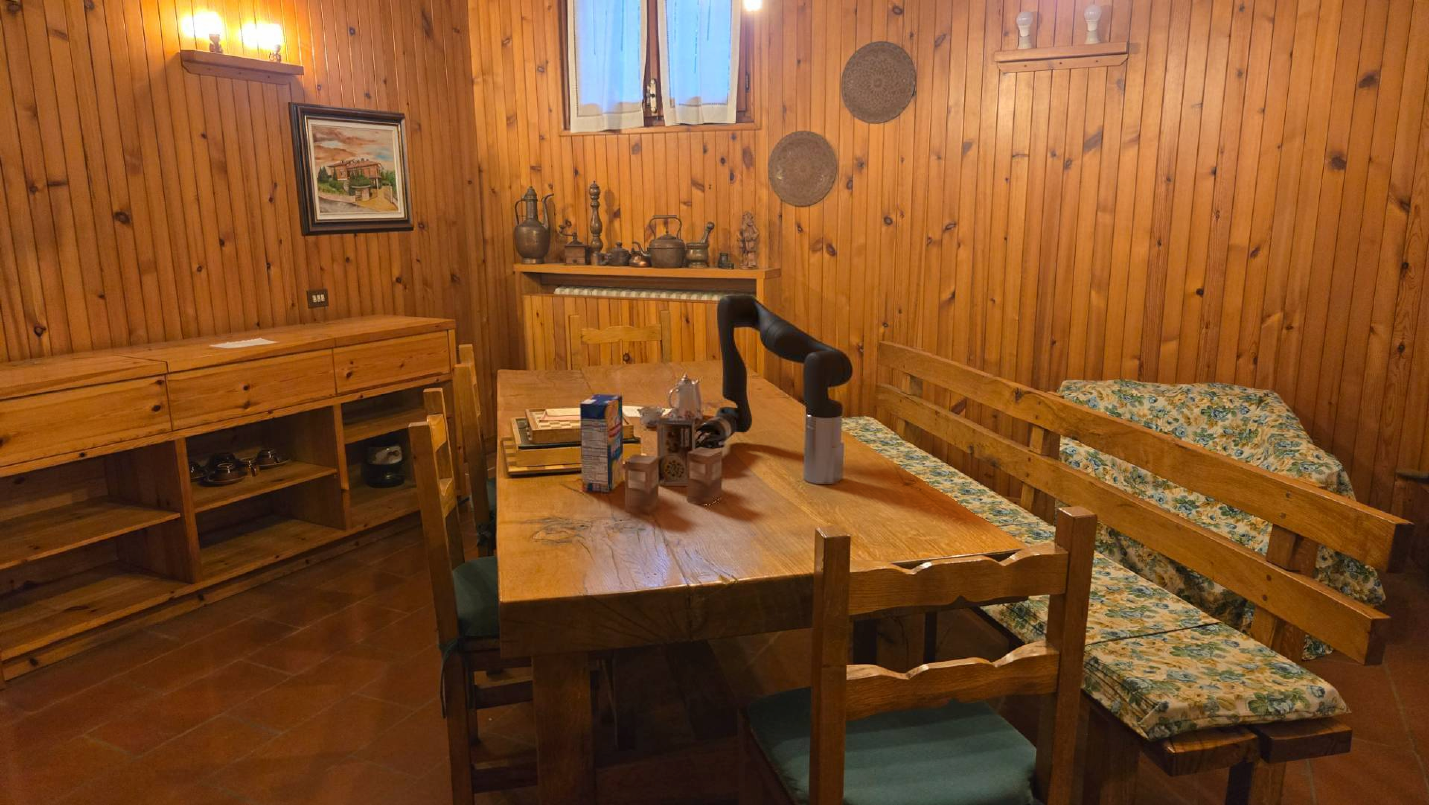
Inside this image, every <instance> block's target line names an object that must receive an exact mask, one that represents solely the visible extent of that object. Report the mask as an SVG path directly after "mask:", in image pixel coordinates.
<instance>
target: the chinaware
mask: <svg viewBox="0 0 1429 805" xmlns="http://www.w3.org/2000/svg"><path fill="white" fill-rule="evenodd" d="M700 382H701V379H697V380H695V381H692V379H691V378H690V377H689V376H688V374H687V373H685V374H684V375H683V377H681V378H680V380H679V381H675V386H676V387H673V388H672V389H671V390H670V391H669V393H668V395H667V404H668V406H669V407H670V408H671V409H670V411H669V412H668V414H667V418H695V428H696V427H699V426H700V421H701V420H703V418H704V414H703V413H704V412H705V411H706V410H707V407H708V406H707V404H706V402H704V400H703V399H702V395H701V391H700ZM674 391H675V393H676V397H675V401H674V404H672V401H671V398H672V395H673V393H674ZM703 404H704V406H705V408H704V410H703ZM636 411H637V412H638V413H639V414H638V415H639V424H640V426H645V427H649V428H652V427H656V428H657V423H658V422H659V420H660V418H663V415H664V413H666V409H663V407H661V406H654V407H651V406H643V407H641V408H637V409H636ZM642 422H643V423H642Z"/></svg>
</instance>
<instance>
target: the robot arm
mask: <svg viewBox="0 0 1429 805" xmlns="http://www.w3.org/2000/svg"><path fill="white" fill-rule="evenodd" d="M716 306H717V308H716V322H717V330H718V331H717V332H718V338H719V345H720V346H719V347H720V353H721V362H722V363H721V364H722V392H721V393H722V397H723V398H724V399H725V400H728V401H731V402H732V403H734V404H735V405H736V407H734V406H733V407H732V406H722V407H720V408H718V409H717V412H716V414H715V416H714V417H712V418H710V419H708V420H706V421H704V422H702V423H701V424H699V425H698V426H697V428H696V429H695V449H697V448H699V447H704V448H710V449H715V450H718V449H723V448H725V442H726V441H727V440H728V439H729V438H731V437H732V436H733V435H734V434H735V433H740V434H742V433H744V434H745V433H747V432H748V431H750V429H751V427H752V424H753V417H752V416H753V415H752V411H751V408H750V404H749V400H748V394H747V390H748V388H747V386H748V370H747V367H746V364H745V362H744V360H743V357H742V355H741V354H740V351H739V349H738V348H737V347H738V346H737V344H736V341H735V329H738V328H739V329H740V328H749V329H750V328H751V329H753V330H755V331H757V332H759V340H760V342H761V344H762V345H763V347H765V349H766V350H768V351H769V352H771V353H773V354H774V355H775V356H776V357H779V358H780V359H782V360H786V361H788V362H793V363H797V364H801V365H802V364H803V368H802V379H803V381H802V382H803V383H802V387H803V391H802V392H803V403H804V407H805V421H804V422H805V426H804V449H803V450H804V455H803V480H804V481H806V482H809V483H812V484H818V485H835V484H837V483H838V482H840V481H842V480H843V479H844V478H843V477H844V476H843V475H844V454H845V452H844V451H845V443H844V442H842V432H843V431H842V429H843V428H842V427H843V408H844V407H843V404H842V403H841V402H840V401H839V400H836V399H833V398H830V395H829V388H834V387H839V386H843V385H846V384H847V383H848V382H849V381H850V380H851V378H853V377H852V376H853V372H854V370H853V368H854V367H853V364H852V362H851V359H850V358H849V357H848V355H847V354H846V353H845V352H843V351H842V350H841V349H838V348H836V347H833V346H831V345H828V344H826V343H824V342H822V341H820V340H818V339H816V338H815V337H813V336H812V335H810V334H808V333H807V332H805V331H804V330H801V329H800V328H799V327H797V326H795V324H793V323H791V322H790V321H788V320H786V319H784V318H782V317H780V315H777V314H776V313H774V312H772V311H771V310H769V309H768V307H766V306H765V305H764V304H763V303H761V302H760V301H759V300H757V299H756V298H755V296H752V295H749V294H736V295H735V294H732V295H731V294H730V295H724V296H722V297H720V299H719V301H718V303H717V305H716Z"/></svg>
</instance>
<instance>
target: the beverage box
mask: <svg viewBox="0 0 1429 805" xmlns="http://www.w3.org/2000/svg"><path fill="white" fill-rule="evenodd" d="M579 406H580V407H579V413H580V415H579V416H580V452H581V453H580V454H581V455H580V459H581V464H580V465H581V492H587V493H589V492H590V493H600V494H610V493H611V492H612V491H613V490H614V489H615V488H616V487H618V486H619V485H620V484H621V483H622V482H624V437H623V436H624V434H623V432H624V431H623V430H624V427H623V423H624V422H623V420H624V419H623V417H624V415H623V395H615V394H614V395H612V394H601V393H600V394H599V393H596V394H594V395H593V396H590V397H589V398H587V399H585V400H584V401H582V402H580V403H579Z"/></svg>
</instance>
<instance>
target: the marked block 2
mask: <svg viewBox="0 0 1429 805" xmlns="http://www.w3.org/2000/svg"><path fill="white" fill-rule="evenodd" d="M722 473H723V450H719V449H710V448H704V447H699V448H697V449H695V450H692V451H690V452H688V453H687V486H686V502H687V501H690V502H689V503H692V502H695V503H694V504H697V503H699V504H698V505H702V504H707V505H709V504H711V505H713V504H714V503H713V502H715V501H717V502H718V499H720V498H722V496H723V495H722V492H723V489H722V486H723V483H722V481H723V480H722V479H723V477H722V476H723V474H722ZM720 500H721V499H720ZM712 503H713V504H712ZM715 503H716V502H715Z"/></svg>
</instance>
